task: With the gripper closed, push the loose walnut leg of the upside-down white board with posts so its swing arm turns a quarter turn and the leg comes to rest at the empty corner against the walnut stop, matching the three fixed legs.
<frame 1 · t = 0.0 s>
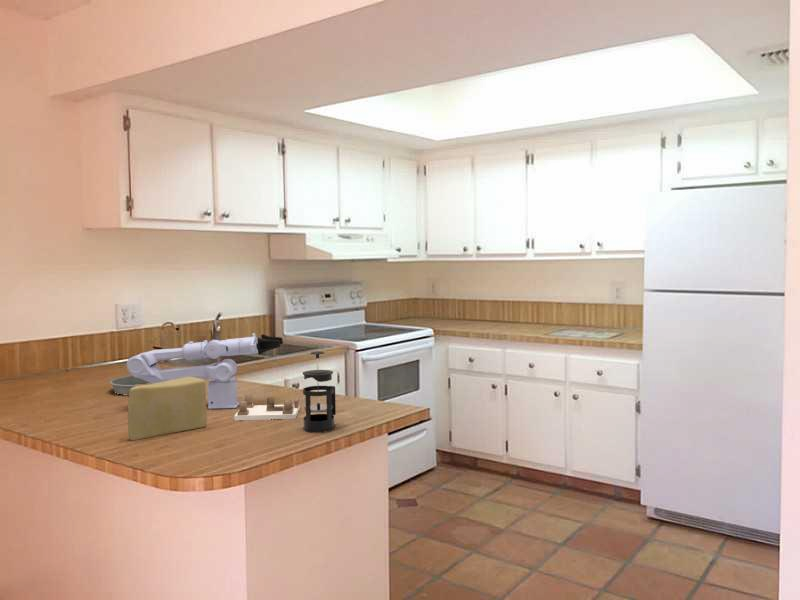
hand: (281, 342, 225), 22 cm above the countertop, tool horizontal, fingers open, 7 cm apart
cheese: (166, 433, 193), on the countertop
hinged leg: (279, 403, 212), point 4 cm above the countertop, hinge at 90.0°
white board with posts: (268, 414, 213), on the countertop
french press: (320, 428, 196), on the countertop
cake pan: (144, 390, 256), on the countertop
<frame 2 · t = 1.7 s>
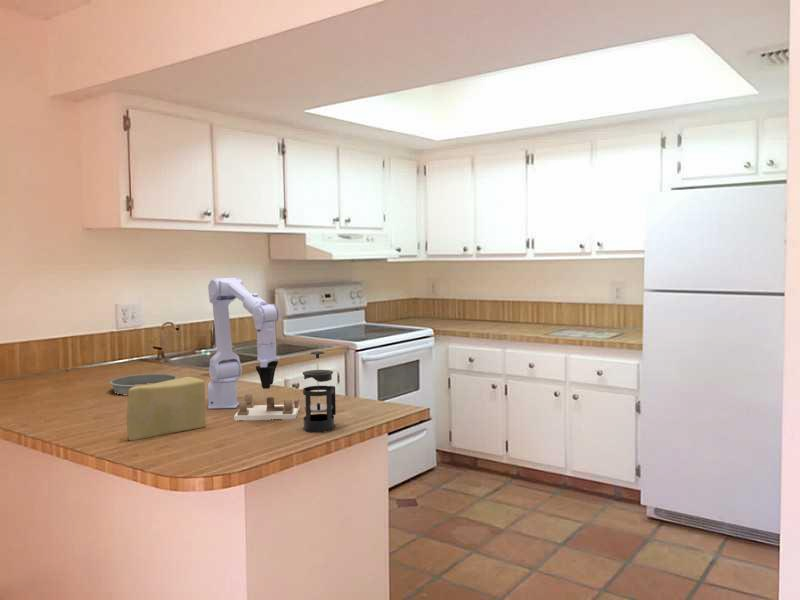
hand: (267, 386, 207), 10 cm above the countertop, tool pointing down, fingers open, 6 cm apart
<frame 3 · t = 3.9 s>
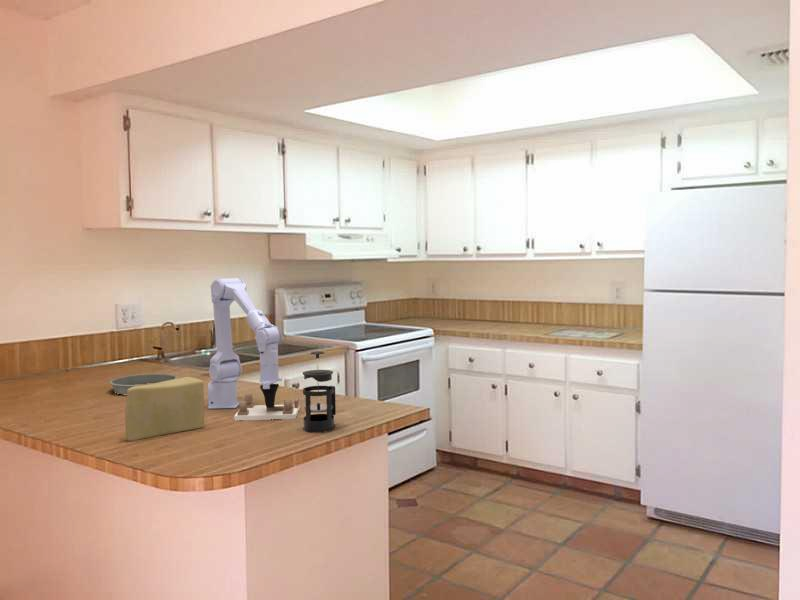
hand: (270, 407, 211), 3 cm above the countertop, tool pointing down, fingers closed, pressing on hinged leg
hinged leg: (279, 403, 212), point 4 cm above the countertop, hinge at 88.6°, touching gripper
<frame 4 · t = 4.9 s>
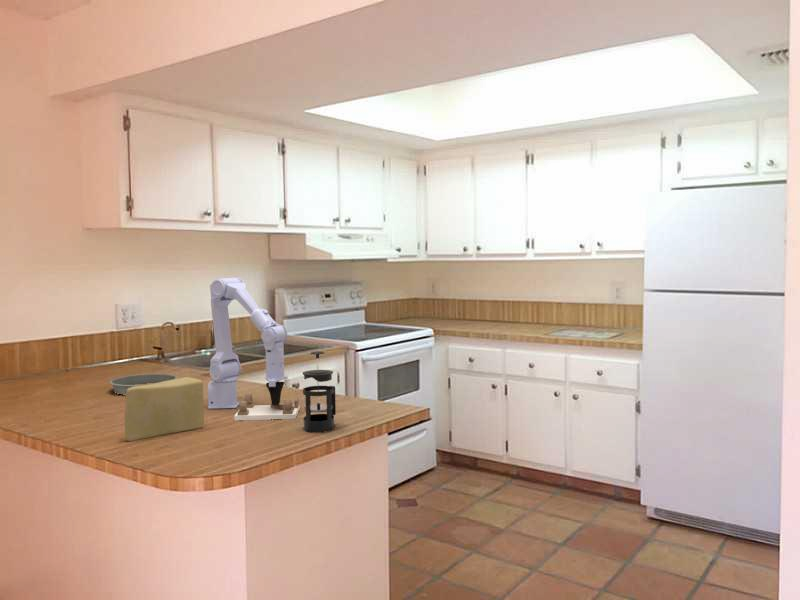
hand: (275, 404, 214), 3 cm above the countertop, tool pointing down, fingers closed, pressing on hinged leg
hinged leg: (282, 402, 214), point 4 cm above the countertop, hinge at 55.7°, touching gripper
everything else where it was.
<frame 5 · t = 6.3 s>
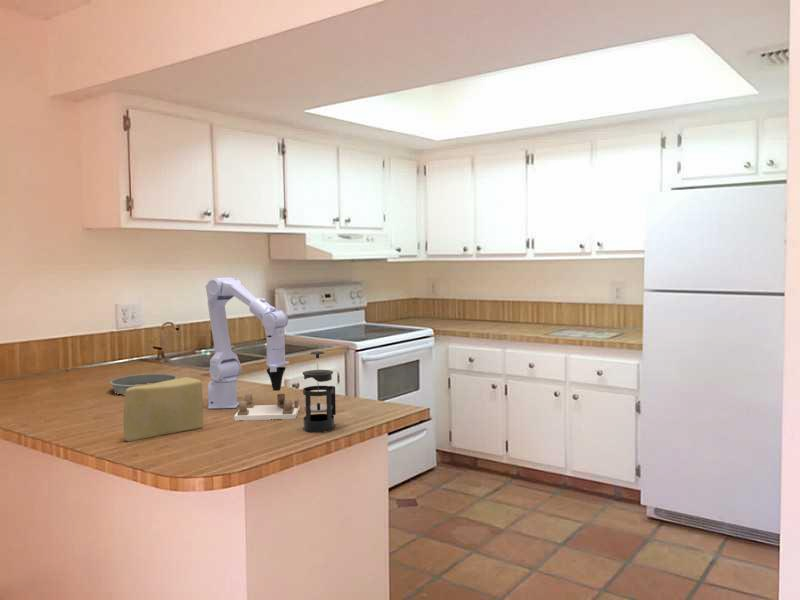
hand: (276, 390, 213), 8 cm above the countertop, tool pointing down, fingers closed
hinged leg: (285, 402, 215), point 4 cm above the countertop, hinge at 32.3°
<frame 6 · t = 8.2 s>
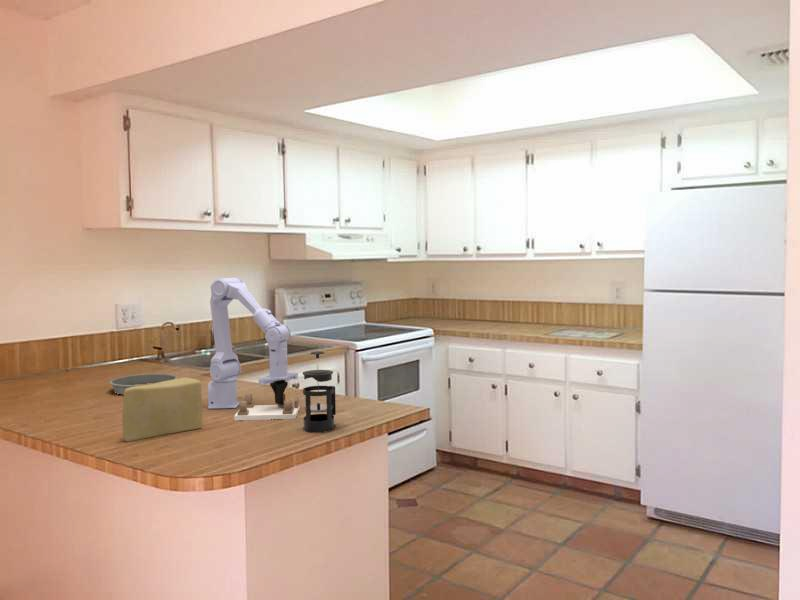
hand: (279, 403, 216), 3 cm above the countertop, tool pointing down, fingers closed, pressing on hinged leg
hinged leg: (285, 402, 215), point 4 cm above the countertop, hinge at 30.8°, touching gripper
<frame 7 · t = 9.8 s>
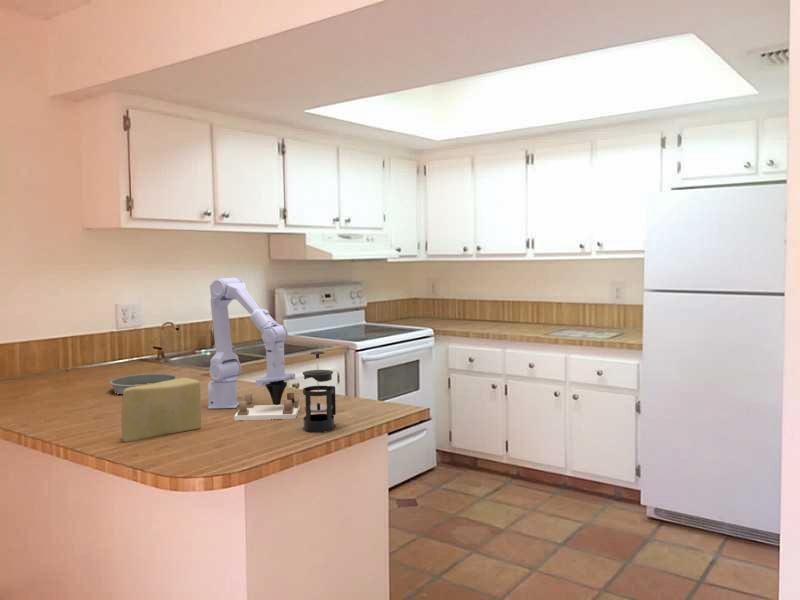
hand: (276, 404, 214), 3 cm above the countertop, tool pointing down, fingers closed
hinged leg: (290, 401, 216), point 4 cm above the countertop, hinge at 1.6°
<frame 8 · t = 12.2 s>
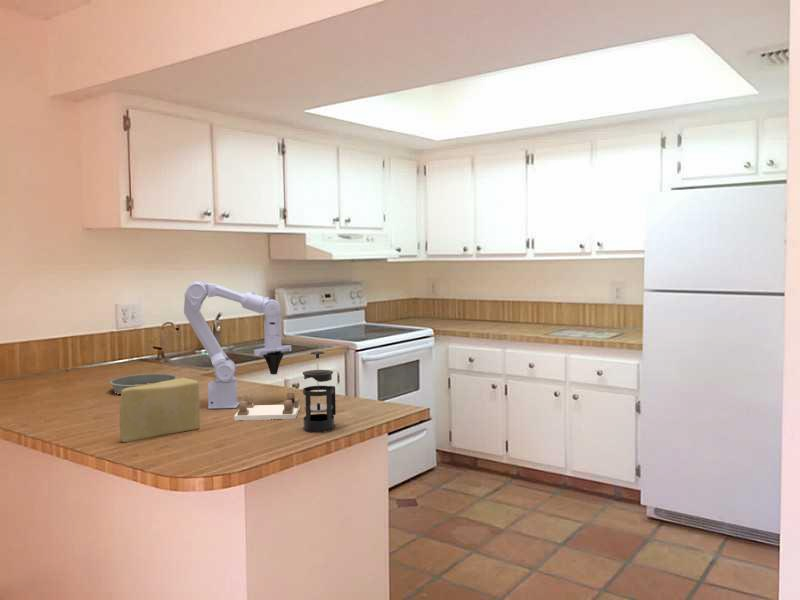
hand: (273, 374, 228), 10 cm above the countertop, tool pointing down, fingers closed
at the end: hinged leg at +2° (first picture: +90°) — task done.
